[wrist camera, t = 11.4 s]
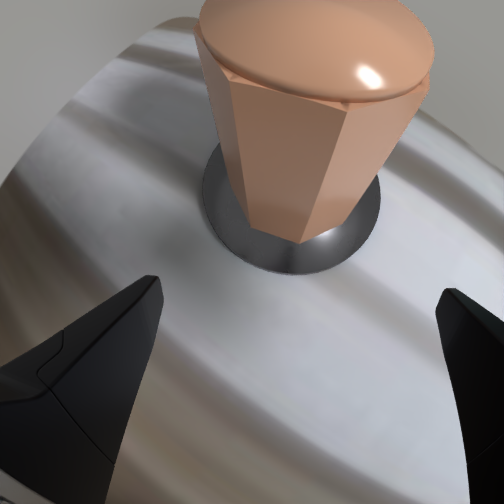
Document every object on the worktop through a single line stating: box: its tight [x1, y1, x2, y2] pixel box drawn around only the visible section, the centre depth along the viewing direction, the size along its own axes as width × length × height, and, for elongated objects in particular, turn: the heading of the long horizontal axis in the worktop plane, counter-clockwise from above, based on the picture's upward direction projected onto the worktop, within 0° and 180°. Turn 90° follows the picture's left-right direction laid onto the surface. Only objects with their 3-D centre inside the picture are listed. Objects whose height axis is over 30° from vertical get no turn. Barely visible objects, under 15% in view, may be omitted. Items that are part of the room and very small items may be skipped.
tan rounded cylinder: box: [193, 0, 434, 244], centre depth 13 cm, size 7×7×12 cm
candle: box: [203, 143, 381, 275], centre depth 17 cm, size 11×11×5 cm
